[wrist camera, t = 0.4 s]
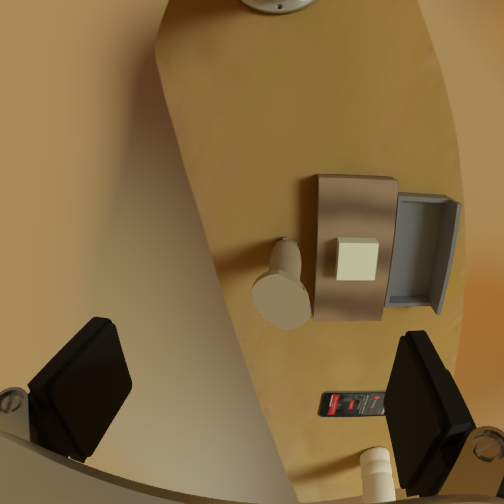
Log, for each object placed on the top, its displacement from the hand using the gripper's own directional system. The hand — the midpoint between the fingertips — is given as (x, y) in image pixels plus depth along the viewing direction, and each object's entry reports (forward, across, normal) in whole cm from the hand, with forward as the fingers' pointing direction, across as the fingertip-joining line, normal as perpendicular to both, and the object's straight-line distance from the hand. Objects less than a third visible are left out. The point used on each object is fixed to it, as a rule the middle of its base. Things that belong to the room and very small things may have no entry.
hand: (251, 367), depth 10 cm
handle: (+35, 0, +8) cm, 36 cm away
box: (+34, -18, +8) cm, 40 cm away
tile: (+31, -9, +8) cm, 34 cm away
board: (+34, -9, +8) cm, 36 cm away
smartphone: (+36, -15, +39) cm, 55 cm away
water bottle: (+37, -22, +58) cm, 73 cm away
